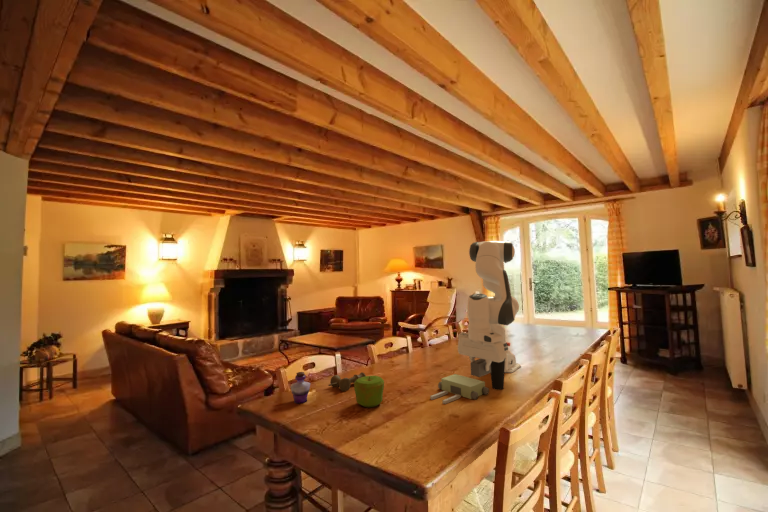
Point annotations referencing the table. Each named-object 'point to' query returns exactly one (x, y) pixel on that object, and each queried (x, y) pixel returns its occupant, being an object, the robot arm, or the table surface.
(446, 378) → the green block with prongs
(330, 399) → the table surface
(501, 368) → the drinking cup
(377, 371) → the table surface
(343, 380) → the kendama
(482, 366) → the dark grey block
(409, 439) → the table surface
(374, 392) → the apple
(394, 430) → the table surface
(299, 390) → the potion bottle
